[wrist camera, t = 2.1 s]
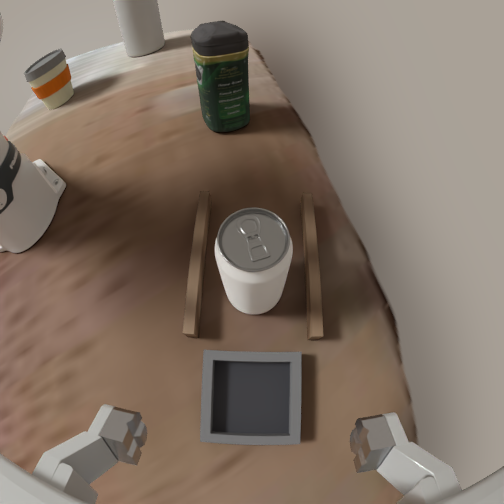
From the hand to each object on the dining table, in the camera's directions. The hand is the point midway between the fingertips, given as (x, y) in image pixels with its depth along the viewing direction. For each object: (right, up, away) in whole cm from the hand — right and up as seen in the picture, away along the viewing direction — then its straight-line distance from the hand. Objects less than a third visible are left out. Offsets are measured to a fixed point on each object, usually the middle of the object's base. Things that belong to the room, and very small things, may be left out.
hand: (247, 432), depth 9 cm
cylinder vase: (-33, +70, +58) cm, 97 cm away
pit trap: (0, -9, +18) cm, 20 cm away
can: (0, +2, +24) cm, 24 cm away
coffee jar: (-5, +30, +38) cm, 49 cm away
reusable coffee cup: (-54, +50, +48) cm, 88 cm away
